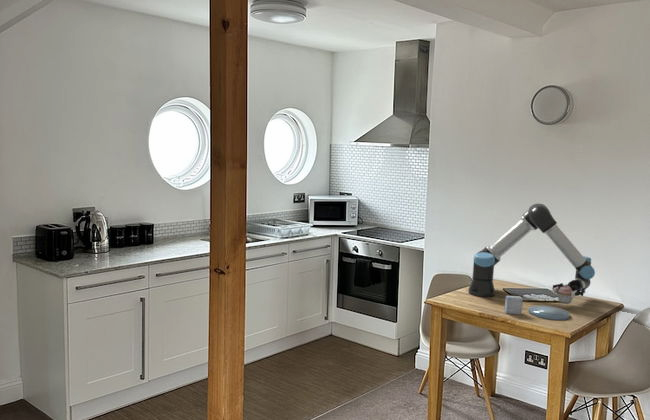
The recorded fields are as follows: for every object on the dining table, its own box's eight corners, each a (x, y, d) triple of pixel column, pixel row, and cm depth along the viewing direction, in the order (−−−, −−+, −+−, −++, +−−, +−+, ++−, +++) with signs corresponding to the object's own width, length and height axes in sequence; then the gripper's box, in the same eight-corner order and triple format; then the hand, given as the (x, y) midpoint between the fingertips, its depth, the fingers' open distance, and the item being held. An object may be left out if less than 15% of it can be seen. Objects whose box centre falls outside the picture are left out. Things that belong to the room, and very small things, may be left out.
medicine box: (519, 312, 318) (520, 296, 317) (521, 314, 314) (522, 298, 313) (504, 311, 319) (505, 295, 318) (506, 313, 315) (507, 297, 314)
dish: (534, 318, 308) (534, 315, 308) (524, 307, 328) (524, 304, 327) (574, 321, 306) (574, 317, 306) (562, 309, 326) (562, 306, 326)
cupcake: (552, 301, 330) (553, 283, 329) (561, 299, 336) (563, 281, 335) (567, 305, 323) (569, 287, 322) (577, 303, 329) (579, 285, 327)
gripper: (595, 296, 336) (583, 304, 319) (556, 288, 350) (542, 295, 333) (597, 283, 335) (584, 290, 318) (557, 275, 349) (543, 282, 332)
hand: (562, 293), depth 325 cm, fingers closed on cupcake, 9 cm apart
